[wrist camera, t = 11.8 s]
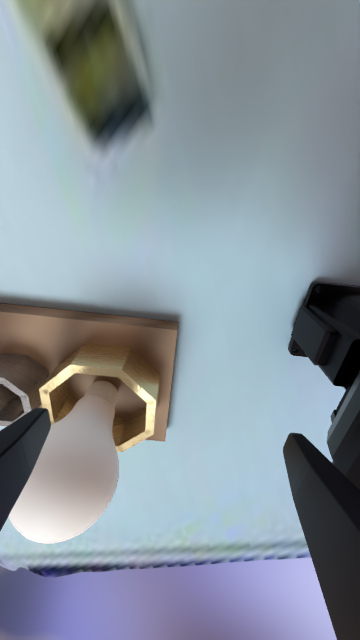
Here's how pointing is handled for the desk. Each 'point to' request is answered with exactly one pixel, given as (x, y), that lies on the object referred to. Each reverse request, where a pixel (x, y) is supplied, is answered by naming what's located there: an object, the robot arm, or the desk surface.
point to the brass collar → (114, 365)
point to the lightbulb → (72, 472)
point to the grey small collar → (19, 386)
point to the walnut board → (83, 327)
